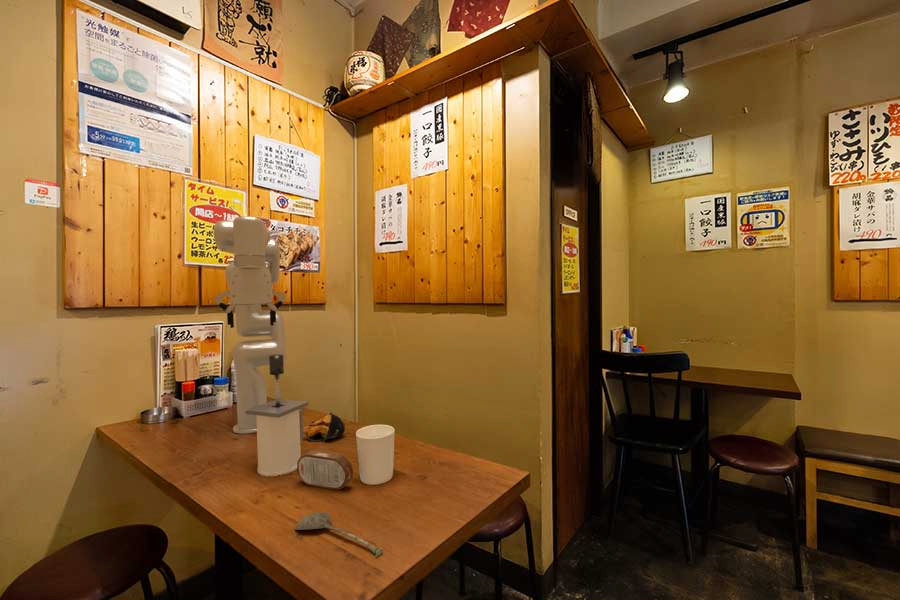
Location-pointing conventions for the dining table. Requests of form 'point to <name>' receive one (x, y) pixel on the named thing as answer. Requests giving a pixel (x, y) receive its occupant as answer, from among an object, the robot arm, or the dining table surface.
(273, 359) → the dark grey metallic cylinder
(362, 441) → the white tapered cylinder
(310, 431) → the fried shrimp in bowl
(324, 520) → the soupspoon
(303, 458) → the tin
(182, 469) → the dining table surface
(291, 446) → the white grey-topped cylinder
